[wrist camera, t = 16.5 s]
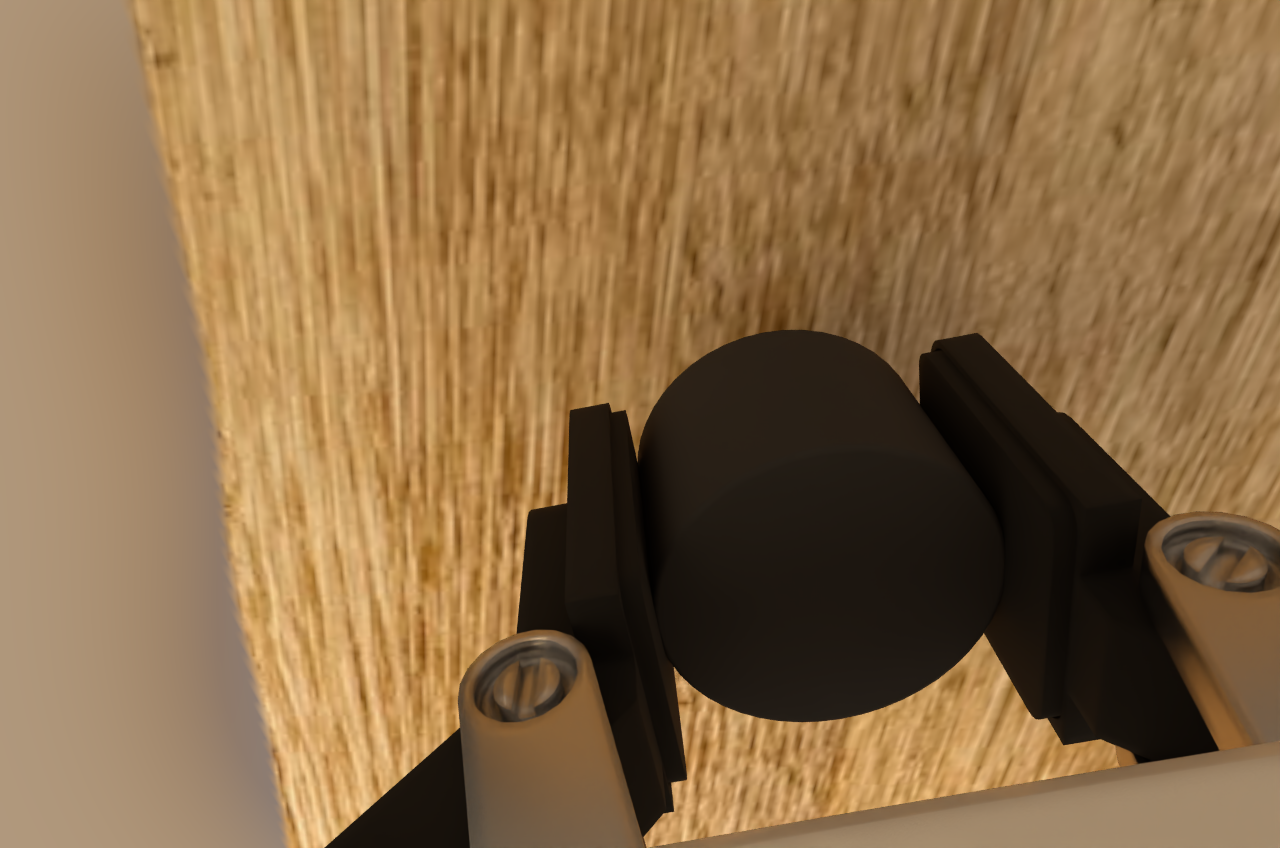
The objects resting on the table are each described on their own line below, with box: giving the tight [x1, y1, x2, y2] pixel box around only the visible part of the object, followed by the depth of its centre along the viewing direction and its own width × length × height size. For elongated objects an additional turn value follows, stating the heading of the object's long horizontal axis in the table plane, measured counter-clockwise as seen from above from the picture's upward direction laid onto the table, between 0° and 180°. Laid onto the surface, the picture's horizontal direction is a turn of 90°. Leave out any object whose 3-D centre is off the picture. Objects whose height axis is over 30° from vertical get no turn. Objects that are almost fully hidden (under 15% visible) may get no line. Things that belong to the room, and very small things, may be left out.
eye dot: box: [638, 330, 1005, 722], centre depth 11 cm, size 4×4×3 cm
